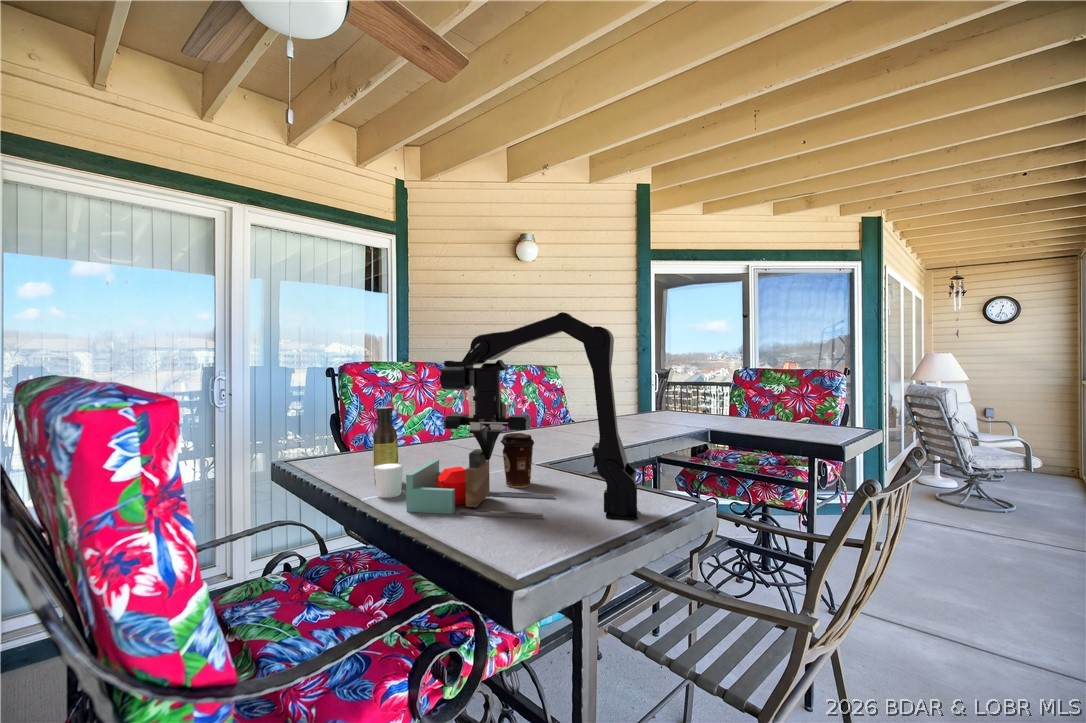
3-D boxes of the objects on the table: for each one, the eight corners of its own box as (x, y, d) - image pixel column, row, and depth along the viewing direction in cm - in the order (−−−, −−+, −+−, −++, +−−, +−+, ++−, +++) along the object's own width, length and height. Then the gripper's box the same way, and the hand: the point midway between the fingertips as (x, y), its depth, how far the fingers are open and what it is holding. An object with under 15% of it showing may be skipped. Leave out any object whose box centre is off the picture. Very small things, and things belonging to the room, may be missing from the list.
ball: (432, 501, 115) (432, 468, 115) (464, 495, 120) (464, 463, 120) (447, 510, 109) (446, 475, 109) (479, 503, 113) (479, 470, 113)
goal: (474, 493, 121) (474, 461, 121) (452, 514, 106) (452, 476, 106) (433, 491, 123) (433, 459, 123) (406, 511, 108) (406, 474, 108)
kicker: (489, 493, 118) (489, 447, 117) (476, 506, 108) (475, 456, 108) (479, 493, 118) (479, 446, 118) (465, 506, 108) (465, 455, 108)
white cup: (400, 488, 126) (400, 461, 126) (406, 495, 120) (406, 466, 120) (371, 492, 123) (371, 464, 122) (377, 500, 116) (376, 470, 116)
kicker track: (554, 497, 117) (554, 494, 117) (542, 519, 103) (542, 515, 103) (480, 494, 121) (480, 490, 121) (459, 514, 106) (459, 510, 106)
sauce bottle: (402, 482, 132) (401, 407, 131) (380, 487, 128) (379, 409, 127) (391, 477, 137) (390, 405, 136) (369, 482, 132) (368, 407, 132)
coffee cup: (498, 489, 125) (498, 437, 124) (502, 480, 133) (502, 432, 133) (533, 489, 124) (533, 437, 124) (535, 480, 133) (535, 432, 132)
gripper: (534, 388, 118) (535, 453, 119) (459, 387, 122) (460, 451, 122) (524, 392, 107) (525, 464, 108) (442, 391, 111) (443, 461, 111)
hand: (488, 459), depth 112 cm, fingers closed
